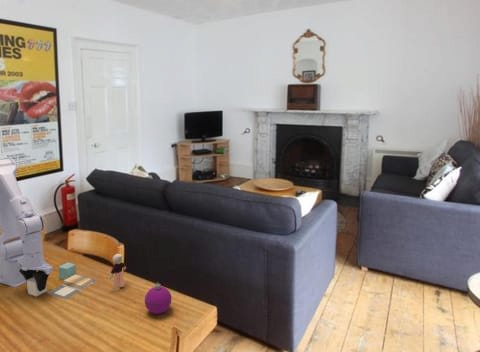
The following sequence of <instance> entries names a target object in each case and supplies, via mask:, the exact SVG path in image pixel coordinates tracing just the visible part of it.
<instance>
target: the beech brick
mask: <svg viewBox="0 0 480 352" xmlns="http://www.w3.org/2000/svg"><path fill="white" fill-rule="evenodd" d="M82 276H83V275H81V276H79V275H78V274H76V275H73V276H71V277H69V278H67V279H65V280H63V279H62V280H63V284H64V285H67V286H70V287H73V288H76V289H80V290H81V289H83V288H84V287H86V286H88V285H90V284H91V283H92V280H91V279H92V278H91V279H89V278H90V277H88V278H86V277H87V276H84V277H82ZM91 285H92V284H91ZM91 285H90V286H91ZM88 287H89V286H88ZM86 288H87V287H86ZM83 290H84V289H83ZM81 291H82V290H81Z"/></svg>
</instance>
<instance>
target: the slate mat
mask: <svg viewBox="0 0 480 352" xmlns="http://www.w3.org/2000/svg"><path fill="white" fill-rule="evenodd" d="M79 276H82V277H86V278H89V279H91V280H92V283H91V284H90V285H88V286H86V287H84V288H83V289H81V290H80V289H76V288H73V287H70V286H67V285H64V283H62V284H61V285H59V286H57V287H55V288H53V289H52V290H50V291H47V294H49V295H51V296H53V297H57V298H59V299H63V300H68V299H70V298H71V297H73V296H75V295H76V294H78V293H79V292H81V291H83V290H84V289H86V288H88V287H89V286H91V285H94V283H96V282H98V281H99V280H98V279H95V278H91V277H87V276H84V275H79Z"/></svg>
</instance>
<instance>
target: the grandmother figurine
mask: <svg viewBox="0 0 480 352" xmlns="http://www.w3.org/2000/svg"><path fill="white" fill-rule="evenodd" d="M123 257H124V256H123V255H122V254H120V253H116V254H114V256H112V261H113V262H114V264H113V266H112V268H111V271H110V275H109V277H108V278H109V279H111V280H112V279H113V288H112V289H113V291H114V292H117V291H120V290H121V288H124V287H125V286H126V284H125V278H124V272H123V270H126V269H127V267H126V264H125V263H124V262H123Z"/></svg>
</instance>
